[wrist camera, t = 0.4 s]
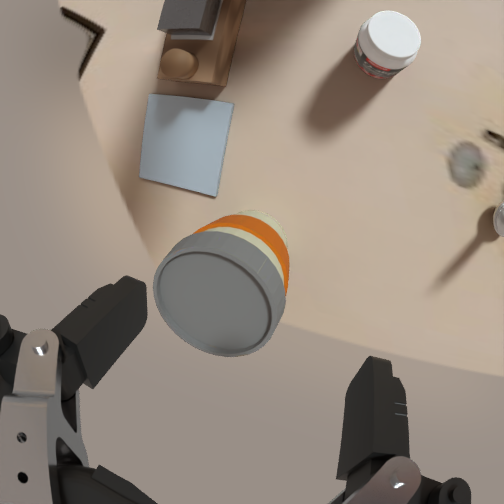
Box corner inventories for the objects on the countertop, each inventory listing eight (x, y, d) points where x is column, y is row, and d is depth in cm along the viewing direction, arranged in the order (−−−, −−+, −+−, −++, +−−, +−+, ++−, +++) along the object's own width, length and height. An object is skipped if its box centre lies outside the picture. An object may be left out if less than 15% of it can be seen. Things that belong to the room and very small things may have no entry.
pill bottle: (357, 79, 27) (367, 62, 18) (349, 35, 25) (353, 4, 16) (405, 79, 25) (432, 65, 17) (396, 35, 23) (417, 7, 14)
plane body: (208, -43, 23) (181, -68, 16) (258, -44, 22) (239, -74, 15) (175, 81, 32) (139, 75, 25) (225, 86, 31) (196, 78, 24)
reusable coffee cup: (204, 268, 43) (151, 331, 30) (216, 185, 37) (151, 225, 24) (287, 295, 41) (262, 373, 28) (312, 212, 35) (298, 270, 22)
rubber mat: (151, 93, 34) (149, 93, 33) (234, 103, 32) (232, 103, 31) (141, 176, 39) (139, 177, 39) (217, 195, 37) (215, 196, 37)
